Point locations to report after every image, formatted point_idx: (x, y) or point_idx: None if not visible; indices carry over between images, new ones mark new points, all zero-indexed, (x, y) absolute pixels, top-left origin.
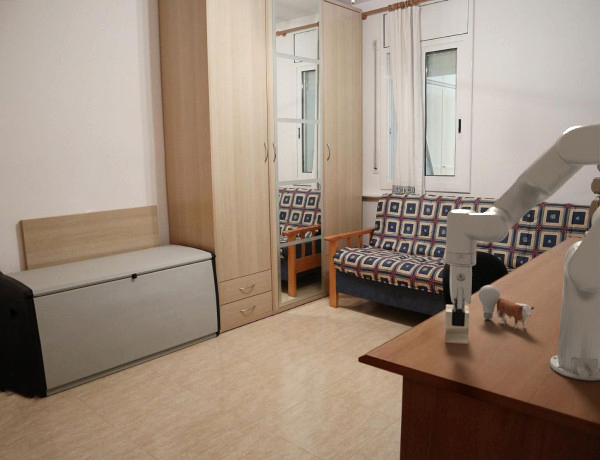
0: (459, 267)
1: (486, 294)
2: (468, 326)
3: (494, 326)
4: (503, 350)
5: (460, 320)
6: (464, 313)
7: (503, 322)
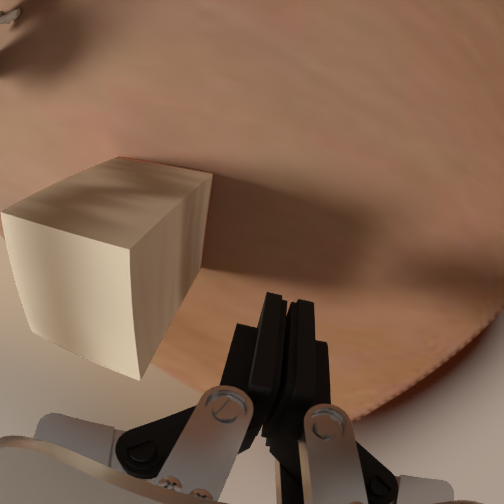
0: None
1: None
2: (179, 205)
3: (30, 40)
4: (288, 19)
5: (326, 365)
6: (312, 386)
7: (14, 14)
